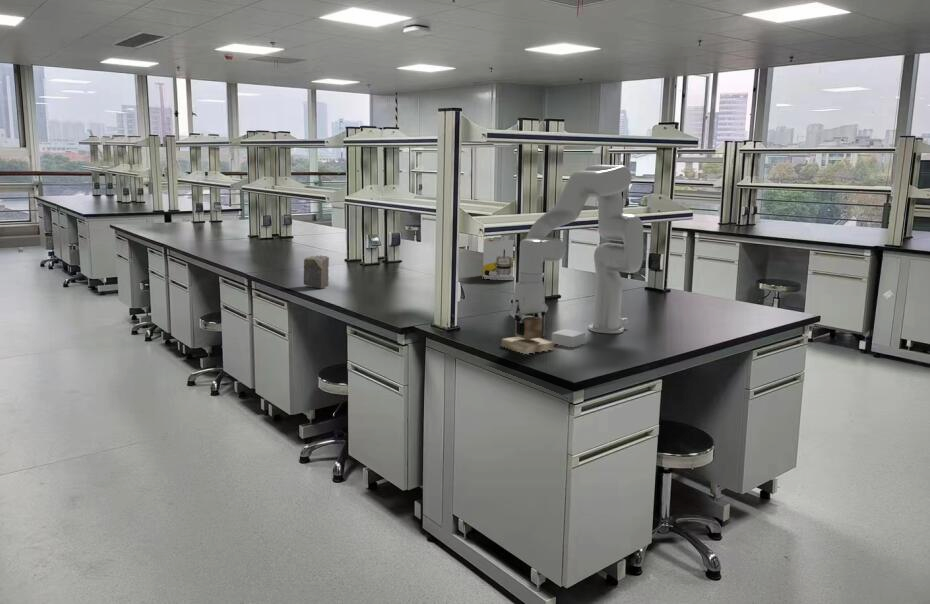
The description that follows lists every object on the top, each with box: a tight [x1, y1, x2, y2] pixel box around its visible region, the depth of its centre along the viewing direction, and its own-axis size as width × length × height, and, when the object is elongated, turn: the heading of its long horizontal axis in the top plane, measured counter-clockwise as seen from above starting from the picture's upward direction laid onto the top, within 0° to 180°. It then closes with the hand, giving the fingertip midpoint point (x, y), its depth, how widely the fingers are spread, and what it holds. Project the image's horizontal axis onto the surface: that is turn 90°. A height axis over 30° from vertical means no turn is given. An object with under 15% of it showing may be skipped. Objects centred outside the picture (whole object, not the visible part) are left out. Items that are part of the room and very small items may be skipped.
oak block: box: [501, 336, 555, 355], centre depth 228 cm, size 12×12×3 cm
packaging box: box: [482, 236, 514, 278], centre depth 371 cm, size 16×16×25 cm
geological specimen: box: [303, 255, 330, 289], centre depth 330 cm, size 11×6×15 cm, turn 61°
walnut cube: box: [514, 316, 542, 339], centre depth 226 cm, size 6×6×6 cm
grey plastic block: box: [551, 328, 586, 348], centre depth 235 cm, size 8×8×4 cm
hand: (528, 332), depth 227 cm, fingers closed on walnut cube, 5 cm apart
